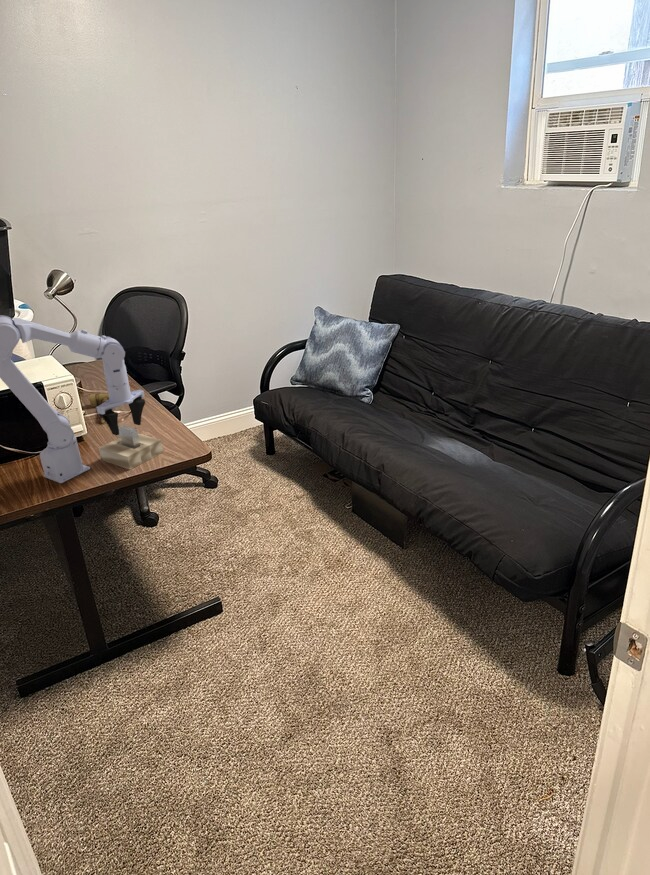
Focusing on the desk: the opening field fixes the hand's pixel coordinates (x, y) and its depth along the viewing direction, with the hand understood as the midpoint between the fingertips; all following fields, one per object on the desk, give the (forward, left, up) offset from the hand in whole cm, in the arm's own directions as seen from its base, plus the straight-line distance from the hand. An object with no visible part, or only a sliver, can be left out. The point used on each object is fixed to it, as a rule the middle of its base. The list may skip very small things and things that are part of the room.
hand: (126, 429), depth 170 cm
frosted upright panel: (0, 0, -9) cm, 9 cm away
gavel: (+18, +35, -9) cm, 41 cm away
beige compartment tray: (0, 0, -9) cm, 9 cm away
